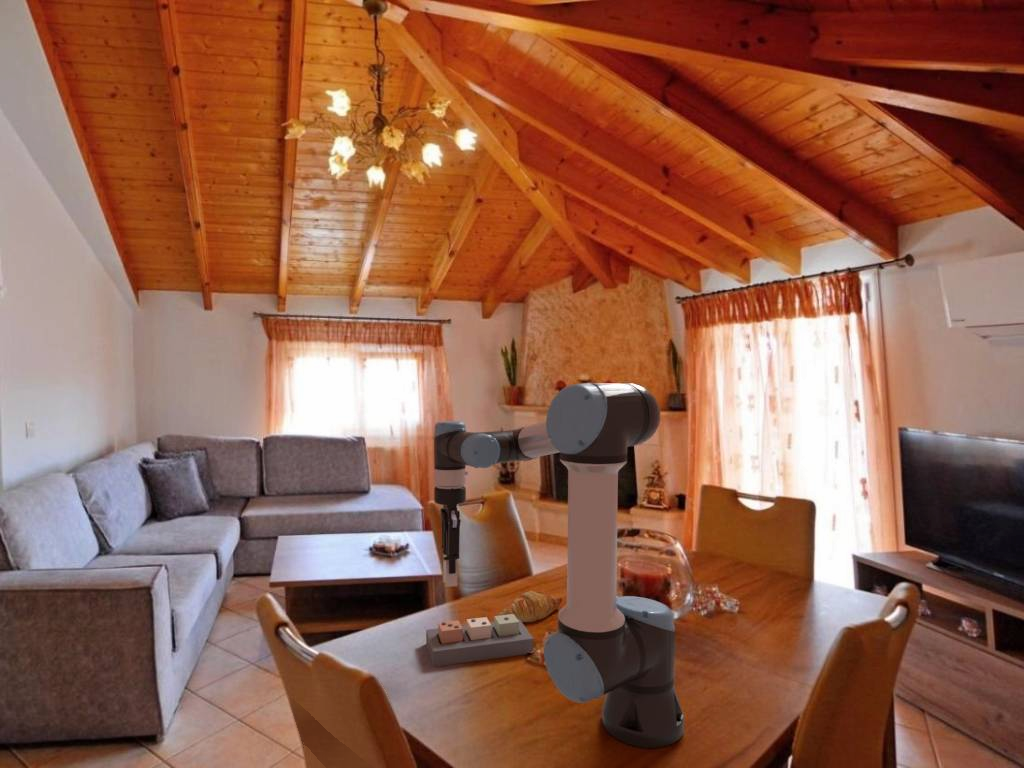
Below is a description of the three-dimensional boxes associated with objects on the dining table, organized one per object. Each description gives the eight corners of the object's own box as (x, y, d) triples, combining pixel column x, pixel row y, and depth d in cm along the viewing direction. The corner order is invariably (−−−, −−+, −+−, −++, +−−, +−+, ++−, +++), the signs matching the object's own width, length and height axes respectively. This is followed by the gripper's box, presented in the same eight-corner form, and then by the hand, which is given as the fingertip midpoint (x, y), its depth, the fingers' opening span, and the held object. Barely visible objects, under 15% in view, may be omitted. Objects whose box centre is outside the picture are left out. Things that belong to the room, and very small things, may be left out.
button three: (462, 641, 138) (462, 627, 138) (441, 643, 137) (441, 630, 137) (458, 632, 143) (458, 619, 143) (438, 634, 142) (438, 621, 142)
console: (533, 653, 140) (533, 638, 140) (433, 666, 133) (433, 651, 133) (519, 632, 151) (519, 618, 151) (426, 643, 145) (426, 629, 144)
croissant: (503, 641, 154) (511, 619, 151) (485, 612, 161) (492, 591, 158) (566, 620, 166) (574, 600, 163) (547, 594, 173) (554, 574, 170)
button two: (491, 637, 140) (491, 624, 140) (470, 640, 139) (470, 626, 139) (486, 629, 145) (486, 616, 145) (466, 631, 144) (466, 618, 144)
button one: (519, 634, 142) (519, 621, 142) (499, 636, 141) (499, 623, 141) (513, 625, 147) (513, 613, 147) (494, 628, 146) (494, 615, 146)
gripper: (472, 491, 133) (472, 593, 134) (459, 479, 148) (459, 572, 149) (439, 492, 131) (439, 597, 131) (429, 481, 146) (430, 574, 146)
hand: (450, 583), depth 140 cm, fingers open, 3 cm apart
